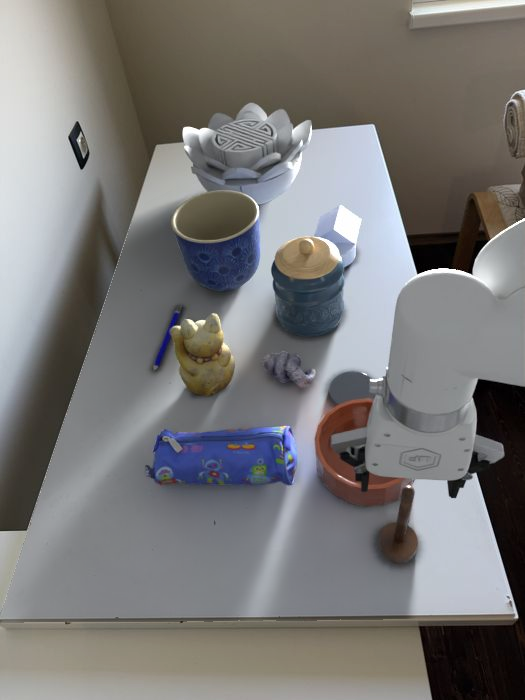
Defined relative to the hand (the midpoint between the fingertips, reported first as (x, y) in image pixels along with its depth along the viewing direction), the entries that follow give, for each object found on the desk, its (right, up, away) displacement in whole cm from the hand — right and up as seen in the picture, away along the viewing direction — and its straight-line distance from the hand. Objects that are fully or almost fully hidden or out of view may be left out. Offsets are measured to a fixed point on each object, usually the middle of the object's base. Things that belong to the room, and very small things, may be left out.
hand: (407, 483), depth 63 cm
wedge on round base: (-1, +37, +57) cm, 68 cm away
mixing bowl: (-1, -2, +22) cm, 22 cm away
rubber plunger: (+2, -12, +13) cm, 18 cm away
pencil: (-35, +17, +44) cm, 59 cm away
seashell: (-12, +10, +35) cm, 38 cm away
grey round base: (-1, +8, +31) cm, 32 cm away
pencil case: (-22, -4, +24) cm, 32 cm away
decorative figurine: (-25, +9, +36) cm, 45 cm away
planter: (-24, +31, +55) cm, 67 cm away
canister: (-7, +22, +45) cm, 50 cm away
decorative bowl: (-20, +54, +74) cm, 94 cm away
